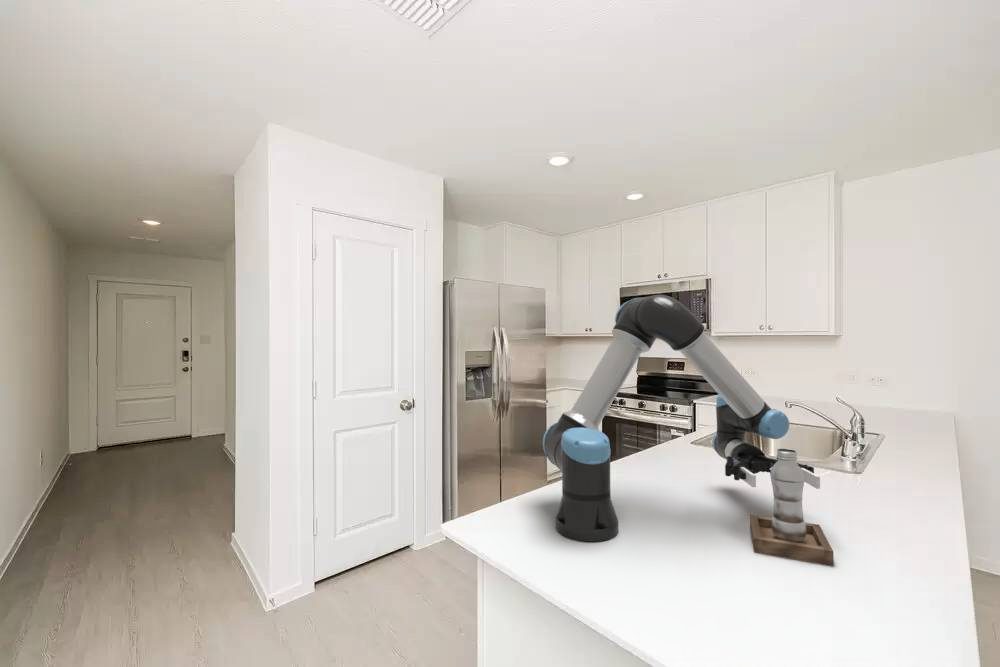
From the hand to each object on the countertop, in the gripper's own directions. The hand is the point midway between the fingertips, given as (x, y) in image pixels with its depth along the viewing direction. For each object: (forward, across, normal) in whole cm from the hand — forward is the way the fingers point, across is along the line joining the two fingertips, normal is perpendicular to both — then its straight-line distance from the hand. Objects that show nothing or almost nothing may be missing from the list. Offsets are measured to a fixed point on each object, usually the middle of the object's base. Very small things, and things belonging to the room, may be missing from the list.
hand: (786, 482), depth 101 cm
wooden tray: (+1, 0, -14) cm, 14 cm away
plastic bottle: (+1, 0, -13) cm, 13 cm away
